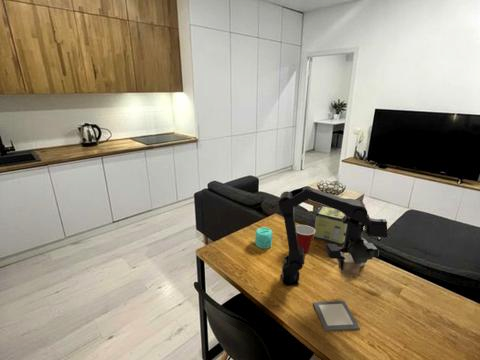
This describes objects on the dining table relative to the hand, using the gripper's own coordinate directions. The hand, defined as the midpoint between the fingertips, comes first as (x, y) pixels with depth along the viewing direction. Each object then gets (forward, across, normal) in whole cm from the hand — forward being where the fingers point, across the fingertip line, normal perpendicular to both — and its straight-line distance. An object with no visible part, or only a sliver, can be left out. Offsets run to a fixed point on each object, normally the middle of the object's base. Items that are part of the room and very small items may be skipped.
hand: (348, 268), depth 101 cm
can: (+11, +13, +17) cm, 24 cm away
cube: (+1, 0, 0) cm, 1 cm away
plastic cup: (+10, -9, +29) cm, 32 cm away
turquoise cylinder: (+10, -28, +35) cm, 46 cm away
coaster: (+10, -9, -12) cm, 18 cm away
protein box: (+11, +9, +39) cm, 41 cm away
